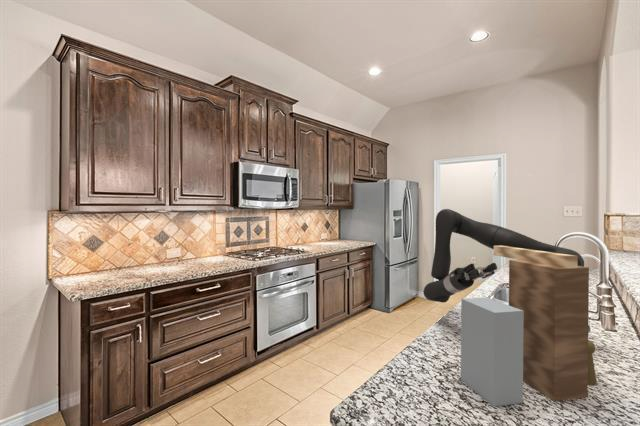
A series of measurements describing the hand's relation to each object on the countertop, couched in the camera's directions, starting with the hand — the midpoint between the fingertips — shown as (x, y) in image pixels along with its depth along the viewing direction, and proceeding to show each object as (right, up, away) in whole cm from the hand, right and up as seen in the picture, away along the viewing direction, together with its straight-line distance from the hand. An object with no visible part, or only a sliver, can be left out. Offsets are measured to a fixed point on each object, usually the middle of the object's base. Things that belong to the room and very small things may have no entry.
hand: (484, 265), depth 105 cm
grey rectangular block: (-12, -27, -26) cm, 40 cm away
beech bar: (+4, +4, -17) cm, 18 cm away
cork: (+16, -28, -20) cm, 38 cm away
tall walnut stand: (+4, -28, -22) cm, 36 cm away
